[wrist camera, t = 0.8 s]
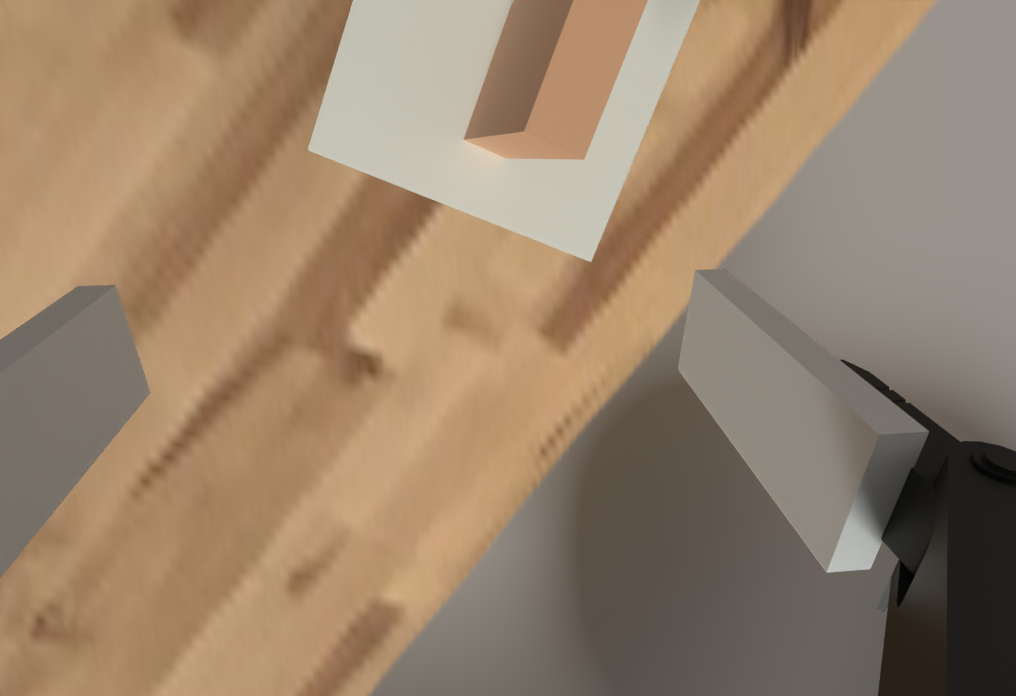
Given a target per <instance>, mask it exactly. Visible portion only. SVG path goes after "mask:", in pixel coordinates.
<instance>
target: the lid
mask: <svg viewBox="0 0 1016 696" xmlns="http://www.w3.org/2000/svg"><path fill="white" fill-rule="evenodd" d="M699 2H700V0H353V2H352V6H351V9H350V12H349V16H348V19H347V22H346V25H345V29H344V32H343V35H342V39H341V42H340V45H339V49H338V52H337V55H336V58H335V62H334V65H333V68H332V72H331V75H330V78H329V82H328V85H327V88H326V91H325V95H324V98H323V101H322V105H321V108H320V111H319V114H318V118H317V121H316V124H315V128H314V131H313V134H312V138H311V141H310V144H309V147H308V151H311V152H313V153H316V154H319V155H321V156H324V157H326V158H329V159H331V160H334V161H336V162H339V163H341V164H344V165H346V166H349V167H351V168H354V169H356V170H359V171H362V172H364V173H367V174H369V175H372V176H374V177H377V178H379V179H382V180H384V181H387V182H389V183H392V184H394V185H397V186H399V187H402V188H405V189H407V190H410V191H412V192H415V193H417V194H420V195H422V196H425V197H427V198H430V199H432V200H435V201H437V202H440V203H442V204H445V205H448V206H450V207H453V208H455V209H458V210H460V211H463V212H465V213H468V214H470V215H473V216H475V217H478V218H480V219H483V220H485V221H488V222H491V223H493V224H496V225H498V226H501V227H503V228H506V229H508V230H511V231H513V232H516V233H518V234H521V235H523V236H526V237H529V238H531V239H534V240H536V241H539V242H541V243H544V244H546V245H549V246H551V247H554V248H556V249H559V250H561V251H564V252H566V253H569V254H572V255H574V256H577V257H579V258H582V259H584V260H587V261H589V262H591V261H592V258H593V256H594V253H595V251H596V249H597V246H598V244H599V241H600V239H601V237H602V234H603V232H604V229H605V227H606V225H607V222H608V220H609V217H610V215H611V213H612V210H613V208H614V205H615V203H616V201H617V198H618V196H619V193H620V191H621V189H622V186H623V184H624V181H625V179H626V177H627V174H628V172H629V169H630V167H631V165H632V162H633V160H634V157H635V155H636V153H637V150H638V148H639V146H640V143H641V141H642V138H643V136H644V134H645V131H646V129H647V126H648V124H649V122H650V119H651V117H652V114H653V112H654V110H655V107H656V105H657V102H658V100H659V98H660V95H661V93H662V90H663V88H664V86H665V83H666V81H667V78H668V76H669V74H670V71H671V69H672V66H673V64H674V62H675V59H676V57H677V54H678V52H679V50H680V47H681V45H682V42H683V40H684V38H685V35H686V33H687V30H688V28H689V26H690V23H691V21H692V18H693V16H694V14H695V11H696V9H697V6H698V4H699Z"/></svg>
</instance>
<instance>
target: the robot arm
mask: <svg viewBox="0 0 1016 696" xmlns="http://www.w3.org/2000/svg"><path fill="white" fill-rule="evenodd" d="M678 370H679V371H680V373H681V374H682V376H683V377H684V378H685V380H686V381H687V382H688V384H689V385H690V386H691V388H692V389H693V391H694V392H695V393H696V395H697V396H698V397H699V399H700V400H701V402H702V403H703V404H704V406H705V407H706V408H707V410H708V411H709V412H710V414H711V415H712V417H713V418H714V419H715V421H716V422H717V423H718V425H719V426H720V428H721V429H722V430H723V431H724V433H725V434H726V436H727V437H728V438H729V440H730V441H731V443H732V444H733V445H734V447H735V448H736V449H737V451H738V452H739V453H740V455H741V456H742V458H743V459H744V460H745V462H746V463H747V464H748V466H749V467H750V468H751V470H752V471H753V472H754V474H755V475H756V477H757V478H758V480H759V481H760V482H761V484H762V485H763V486H764V488H765V489H766V490H767V492H768V493H769V494H770V496H771V497H772V499H773V500H774V501H775V503H776V504H777V505H778V507H779V508H780V510H781V511H782V512H783V514H784V515H785V516H786V518H787V519H788V520H789V522H790V523H791V525H792V526H793V527H794V529H795V530H796V531H797V533H798V534H799V536H800V537H801V538H802V540H803V541H804V542H805V544H806V545H807V547H808V548H809V549H810V551H811V552H812V553H813V555H814V556H815V557H816V559H817V560H818V561H819V563H820V564H821V566H822V567H823V568H824V570H825V571H826V572H838V571H851V570H863V569H870V568H871V566H872V564H873V562H874V559H875V557H876V555H877V552H878V550H879V548H880V545H881V543H882V541H883V542H884V543H885V544H886V545H887V546H888V547H889V548H890V549H891V550H892V552H893V553H894V554H895V555H896V556H897V557H898V558H899V561H898V563H897V565H896V567H895V569H894V572H893V574H892V576H891V578H890V580H889V583H888V585H887V587H886V589H885V591H884V593H883V596H882V598H881V600H880V602H879V604H878V606H877V609H878V610H881V611H883V612H885V610H886V608H887V607H888V611H887V620H886V628H885V638H884V646H883V647H884V648H883V656H882V665H881V673H880V682H879V691H878V696H1016V451H1013V450H1010V449H1007V448H1005V447H1002V446H999V445H994V444H989V443H984V442H973V441H971V442H970V441H963V442H960V441H958V440H957V439H956V438H955V437H953V436H952V435H951V434H949V433H948V432H947V431H945V430H944V429H943V428H941V427H940V426H939V425H938V424H936V423H935V422H934V421H932V420H931V419H930V418H929V417H927V416H926V415H925V414H923V413H922V412H921V411H919V410H918V409H917V408H915V407H914V406H913V405H911V404H910V403H906V402H905V399H904V398H903V397H901V396H900V395H899V394H897V393H896V392H895V391H893V390H889V387H888V386H887V385H886V384H884V383H883V382H882V381H880V380H879V379H878V378H876V377H875V376H874V375H873V374H871V373H870V372H868V371H866V370H864V369H862V368H860V367H858V366H855V365H853V364H851V363H849V362H847V361H845V360H839V359H838V358H836V357H835V356H834V355H833V354H831V353H830V352H829V351H828V350H826V349H825V348H824V347H823V346H821V345H820V344H819V343H818V342H816V341H815V340H814V339H813V338H811V337H810V336H809V335H807V334H806V333H805V332H804V331H802V330H801V329H800V328H799V327H797V326H796V325H795V324H794V323H792V322H791V321H790V320H789V319H787V318H786V317H785V316H784V315H782V314H781V313H780V312H779V311H777V310H776V309H775V308H773V307H772V306H771V305H770V304H769V303H767V302H766V301H765V300H764V299H762V298H761V297H760V296H758V295H757V294H756V293H755V292H753V291H752V290H751V289H750V288H748V287H747V286H746V285H745V284H743V283H742V282H741V281H740V280H738V279H737V278H736V277H734V276H733V275H732V274H731V273H730V272H728V271H727V270H725V269H714V270H695V273H694V279H693V285H692V291H691V296H690V302H689V308H688V314H687V320H686V326H685V331H684V337H683V343H682V348H681V354H680V361H679V366H678ZM149 394H150V390H149V387H148V384H147V381H146V378H145V374H144V371H143V368H142V365H141V362H140V359H139V356H138V353H137V350H136V347H135V343H134V340H133V337H132V334H131V331H130V328H129V325H128V322H127V319H126V316H125V313H124V309H123V306H122V303H121V300H120V297H119V294H118V291H117V288H116V285H107V286H78V287H76V288H75V289H73V290H72V291H70V292H69V293H68V294H66V295H65V296H63V297H62V298H60V299H59V300H57V301H56V302H55V303H53V304H52V305H50V306H49V307H47V308H46V309H44V310H43V311H41V312H40V313H39V314H37V315H36V316H34V317H33V318H31V319H30V320H28V321H27V322H26V323H24V324H23V325H21V326H20V327H18V328H17V329H15V330H14V331H12V332H11V333H10V334H8V335H7V336H5V337H4V338H2V339H1V340H0V578H1V577H2V575H3V574H4V573H5V572H6V570H7V569H8V568H9V567H10V565H11V564H12V563H13V562H14V561H15V559H16V558H17V557H18V556H19V554H20V553H21V552H22V551H23V549H24V548H25V547H26V546H27V544H28V543H29V542H30V541H31V539H32V538H33V537H34V536H35V535H36V533H37V532H38V531H39V530H40V528H41V527H42V526H43V525H44V523H45V522H46V521H47V520H48V518H49V517H50V516H51V515H52V514H53V512H54V511H55V510H56V509H57V507H58V506H59V505H60V504H61V502H62V501H63V500H64V499H65V497H66V496H67V495H68V494H69V493H70V491H71V490H72V489H73V488H74V486H75V485H76V484H77V483H78V481H79V480H80V479H81V478H82V476H83V475H84V474H85V473H86V472H87V470H88V469H89V468H90V467H91V465H92V464H93V463H94V462H95V460H96V459H97V458H98V457H99V455H100V454H101V453H102V452H103V451H104V449H105V448H106V447H107V446H108V444H109V443H110V442H111V441H112V439H113V438H114V437H115V436H116V434H117V433H118V432H119V431H120V430H121V428H122V427H123V426H124V425H125V423H126V422H127V421H128V420H129V418H130V417H131V416H132V415H133V413H134V412H135V411H136V410H137V409H138V407H139V406H140V405H141V404H142V402H143V401H144V400H145V399H146V397H147V396H148V395H149Z"/></svg>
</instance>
